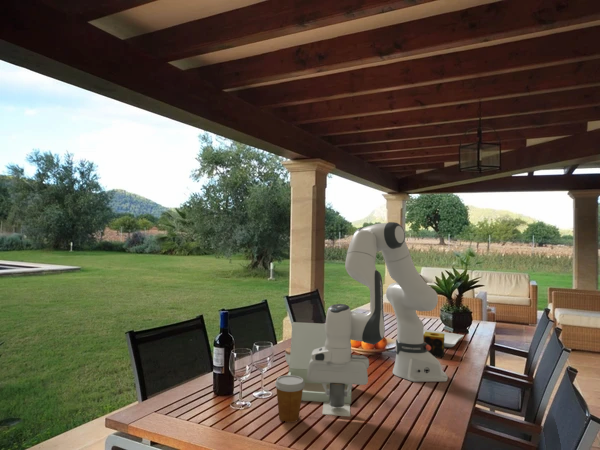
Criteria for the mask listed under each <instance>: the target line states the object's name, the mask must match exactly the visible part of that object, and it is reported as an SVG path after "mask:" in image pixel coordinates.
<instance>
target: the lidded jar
mask: <svg viewBox="0 0 600 450" xmlns="http://www.w3.org/2000/svg"><path fill="white" fill-rule="evenodd" d="M290 351H291V346H289V347H287V348H285V350H284V352H285V353H284V354H285V356H284V357H285V361H286V364H287V365H288V366H290Z"/></svg>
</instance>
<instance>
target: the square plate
mask: <svg viewBox="0 0 600 450" xmlns="http://www.w3.org/2000/svg"><path fill="white" fill-rule="evenodd" d="M425 332H434V333H442V334H445V336H444V339H445V340H444V348H453V347H455V346H456V344H457V343H458V342H460V341H461V340H462V338H463V337H464V336H465V334H459V333H452V332H447V331H439V330H431V329H424V333H425ZM423 342H424V339H423Z"/></svg>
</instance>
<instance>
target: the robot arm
mask: <svg viewBox="0 0 600 450" xmlns="http://www.w3.org/2000/svg"><path fill="white" fill-rule="evenodd" d="M405 238H406V233H405V230H404V228H403V226H402V225H401V224H399V223H398V222H393V221H390V222H389V221H388V222H381V223H375V224H370V225H367V226H361V227H360V228H358V229H356V230H355V231H354V232H353V235H352V237H351V239H350V242H349V245H348V248H347V251H346V257H345V264H344V265H345V266H344V267H345V270H346V271H345V272H346V273H347V274H348V275H349V277H350V278H352V279H353V280H354V281H356V282H357V283H359V284H362V285H363V286H366V287H368V289H369V294H370V295H369V301H370V304H369V305H370V306H369V308H370V309H369V312H367V313H364V312H357V311H351V308H350V306H349V305H347V304H345V303H336V304H332V305H330V306H328V307H327V311H326V316H325V323H324V324H325V333H326V341H325V347H321V348H317V349H314V350H313V351H312V355H311V357H312V358H311V360H310V362H309V366H308V372H307V379H308V380H309V381H311V382H322V386H323V388H324V389H325V396H330V389H328V388H327V386H326V385H327V383H342V384H348V389H347V390H345V391H344V397H349V392H350V390H351V391H352V388H353V385H359V386H360V385H361V386H366V385H367V384H368V382H369V378H368V377H369V375H368V369H369V367H370V360H369V358H368V357H367V356H365V354H364V355H361V354H360V355H359V354H352V343H351V342H352V341H356V342H362V343H366V344H370V345H373V346H374V345H377V344H378V343H380V342H381V341H382V340H384V337H385V333H386V327H385V317H384V286H383V278H382V275H381V272H380V271H379V270H377V268H376V259H377V252H381V254H382V257H383V260H384V264H385V266H386V269H387V272H388V274H389V276H390V278H391V279H392V280H394V282H392V283H390V284H388V287H387V288H386V291H385V292H386V293H385V296H386V299H387V301H388V302H389V304H390V305H391V307H392V309H393V313H394V315H395V319H396V340H395V361H394V366H393V368H392V374H393V375H395V377H399V378H401V379H405V380H408V381H409V382H422V383H423V382H427V383H428V382H447V381H448V375H447V373H446V372H445V371H443V369H442V364H441V362H440V361H439V360H438V358H436V356H433V355H432V354H431V353H429V352H428V350H430V348H431V347H430V345H428V344H427V343H425V342H423V335H424V330H425V329H424V327H425V326H424V323H423V321H422V320H421V319H420V316H418V314H417V312H432V311H433V310H435V308H436V307H437V305H438V303H439V296H438V293H437V291H436V290H435V289H433V288H432V286H430V285H428V283H426V281H425V280H424V279H423V277H422V276H421V275H420V273H419V272H418V271H417V268H416V266H415V264H414V260H413V258H412V255H411V253H410V249H409V247H408V245H407V242H406V241H405ZM350 340H351V342H350Z"/></svg>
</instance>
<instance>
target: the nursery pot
mask: <svg viewBox="0 0 600 450" xmlns="http://www.w3.org/2000/svg"><path fill="white" fill-rule="evenodd" d="M344 391H345V384H342V383H330V396H329V402H328V403H329V405H330V406H332V407H343V406H344V404H345V403H344Z"/></svg>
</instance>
